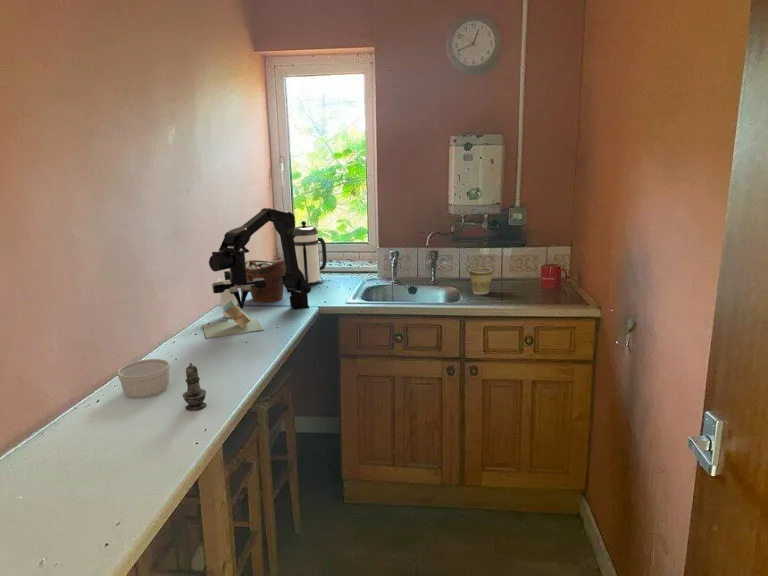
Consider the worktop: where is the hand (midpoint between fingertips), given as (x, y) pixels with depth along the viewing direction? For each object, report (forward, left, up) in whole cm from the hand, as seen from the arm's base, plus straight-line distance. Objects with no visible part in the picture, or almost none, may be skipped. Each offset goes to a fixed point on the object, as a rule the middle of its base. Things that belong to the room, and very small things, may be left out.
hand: (241, 308), depth 217 cm
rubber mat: (+4, 0, -7) cm, 8 cm away
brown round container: (-15, -37, -7) cm, 41 cm away
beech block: (-1, 0, -6) cm, 6 cm away
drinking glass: (+3, -17, -7) cm, 19 cm away
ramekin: (+33, +48, -8) cm, 58 cm away
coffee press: (-39, -58, -7) cm, 70 cm away
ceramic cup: (-102, -3, -7) cm, 102 cm away
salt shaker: (+21, +65, -7) cm, 69 cm away
